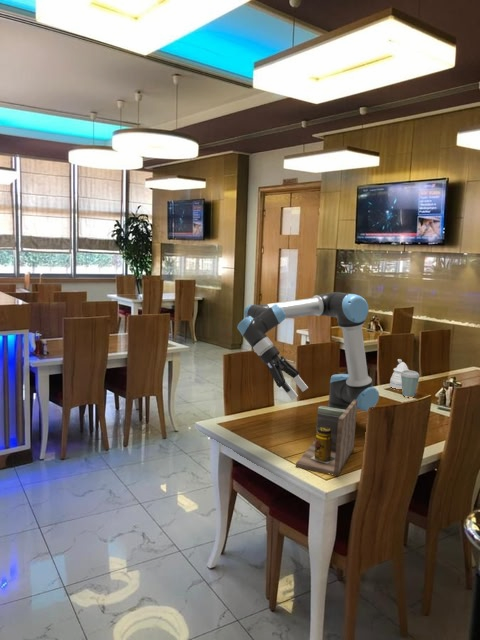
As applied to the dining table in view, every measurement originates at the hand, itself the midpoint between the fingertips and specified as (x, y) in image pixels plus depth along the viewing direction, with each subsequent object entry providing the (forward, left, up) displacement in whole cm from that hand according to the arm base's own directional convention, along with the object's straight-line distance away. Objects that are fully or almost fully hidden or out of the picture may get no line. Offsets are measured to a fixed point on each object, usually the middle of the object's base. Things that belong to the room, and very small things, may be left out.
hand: (300, 393), depth 192 cm
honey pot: (-107, -90, -26) cm, 142 cm away
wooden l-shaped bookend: (-11, +3, -26) cm, 28 cm away
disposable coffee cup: (-100, -71, -26) cm, 126 cm away
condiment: (-9, +6, -24) cm, 27 cm away
